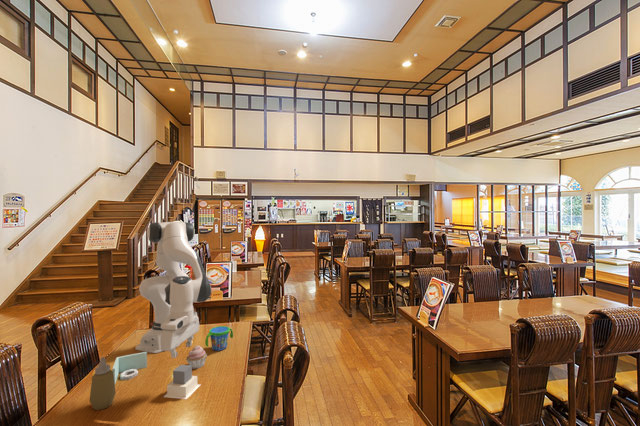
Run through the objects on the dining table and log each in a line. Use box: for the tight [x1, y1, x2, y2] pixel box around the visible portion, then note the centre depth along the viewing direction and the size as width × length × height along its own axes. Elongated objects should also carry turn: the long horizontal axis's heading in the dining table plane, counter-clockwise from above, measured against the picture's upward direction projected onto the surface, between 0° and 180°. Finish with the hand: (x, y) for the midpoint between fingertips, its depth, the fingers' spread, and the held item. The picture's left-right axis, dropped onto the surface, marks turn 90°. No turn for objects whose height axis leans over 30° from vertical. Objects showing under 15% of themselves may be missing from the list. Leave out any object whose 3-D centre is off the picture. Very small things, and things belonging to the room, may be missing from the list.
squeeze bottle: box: [89, 356, 117, 411], centre depth 113 cm, size 8×8×18 cm
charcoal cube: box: [172, 364, 193, 384], centre depth 121 cm, size 5×5×5 cm
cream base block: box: [166, 375, 198, 397], centre depth 121 cm, size 8×8×4 cm
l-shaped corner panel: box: [111, 351, 148, 384], centre depth 135 cm, size 12×12×8 cm
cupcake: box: [186, 345, 208, 370], centre depth 142 cm, size 9×9×10 cm
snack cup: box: [204, 325, 234, 352], centre depth 161 cm, size 16×10×10 cm
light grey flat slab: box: [163, 383, 201, 400], centre depth 121 cm, size 18×14×1 cm
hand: (181, 351), depth 121 cm, fingers open, 8 cm apart
